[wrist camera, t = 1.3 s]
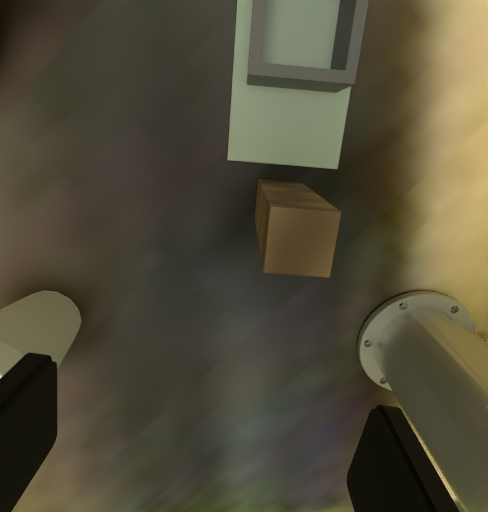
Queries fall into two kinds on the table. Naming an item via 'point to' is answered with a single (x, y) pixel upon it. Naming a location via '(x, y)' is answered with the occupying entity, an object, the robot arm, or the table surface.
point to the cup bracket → (293, 79)
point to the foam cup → (37, 328)
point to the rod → (295, 229)
